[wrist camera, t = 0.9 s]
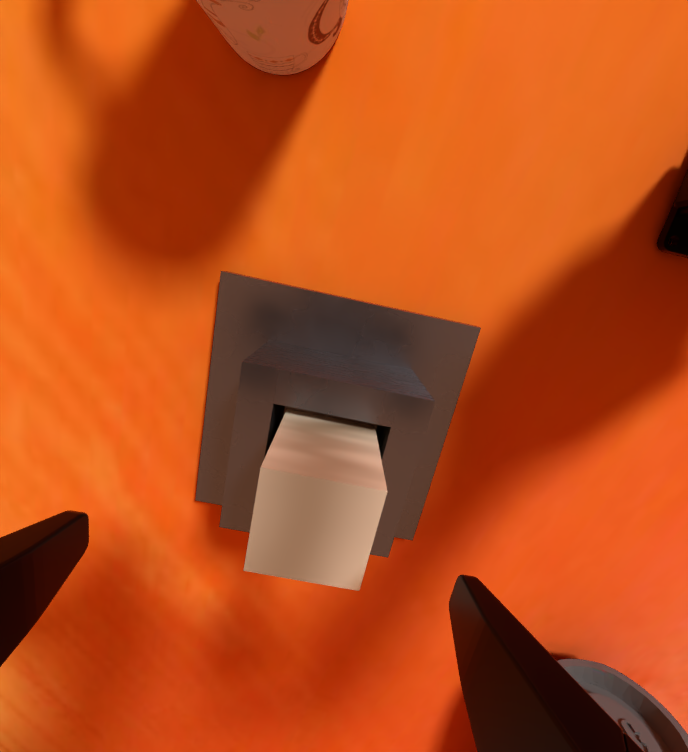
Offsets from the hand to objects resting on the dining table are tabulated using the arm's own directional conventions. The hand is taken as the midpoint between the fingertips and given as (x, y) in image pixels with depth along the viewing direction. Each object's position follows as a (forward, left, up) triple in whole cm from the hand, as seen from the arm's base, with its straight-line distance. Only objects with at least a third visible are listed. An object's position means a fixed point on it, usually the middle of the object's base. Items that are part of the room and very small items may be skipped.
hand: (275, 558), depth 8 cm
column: (-1, +1, -11) cm, 12 cm away
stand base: (-1, +1, -13) cm, 13 cm away
